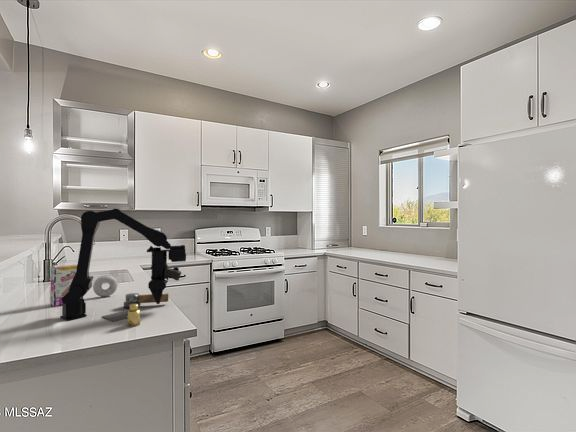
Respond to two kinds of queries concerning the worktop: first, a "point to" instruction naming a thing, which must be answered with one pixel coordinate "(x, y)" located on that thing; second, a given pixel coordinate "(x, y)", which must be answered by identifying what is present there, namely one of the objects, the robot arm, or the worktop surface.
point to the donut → (105, 292)
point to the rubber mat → (116, 316)
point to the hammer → (142, 299)
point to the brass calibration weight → (133, 316)
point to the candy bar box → (60, 282)
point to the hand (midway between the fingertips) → (159, 301)
